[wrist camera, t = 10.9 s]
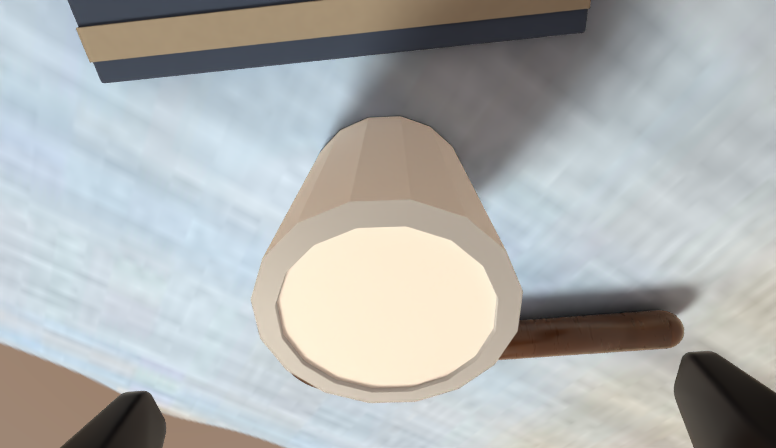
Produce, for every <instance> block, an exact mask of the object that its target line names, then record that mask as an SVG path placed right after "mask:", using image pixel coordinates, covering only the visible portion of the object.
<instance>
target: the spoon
mask: <svg viewBox="0 0 776 448" xmlns="http://www.w3.org/2000/svg"><path fill="white" fill-rule="evenodd" d="M683 336H684V327H683V324H682V322H681V320H680V319H679V318H678V317H677V316H676V315H674V314H673V313H671V312H668V311H664V310H654V311H641V312H627V313H613V314H599V315H586V316H572V317H558V318H544V319H531V320H519V325H518V331H517V333H516V334H515V336H514V337H513V339H512V340H511V342H510V343H509V344H508V346H507V347H506V349H505V350H504V352H503V353H502V355H501V356H500V357H499V359H498V360H506V359H521V358H535V357H550V356H565V355H579V354H594V353H608V352H623V351H638V350H652V349H667V348H672V347H674V346H676V345H677V344H679V343H680V341H681V340H682V338H683ZM293 375H294V374H293ZM294 376H295V377H296V378H297V379H299V380H300V381H302V382H304V383H305V384H307V385H310V386H312V387H315V386H313V385H311V384H310V383H308V382H306V381H304V380H303V379H301V378H299V377H297V376H296V375H294ZM315 388H317V387H315Z"/></svg>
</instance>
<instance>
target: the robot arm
mask: <svg viewBox="0 0 776 448" xmlns="http://www.w3.org/2000/svg"><path fill="white" fill-rule="evenodd" d="M674 395H675V399H676V402H677V405H678V408H679V410H680V413H681V415H682V418H683V421H684V423H685V426H686V429H687V431H688V434H689V436H690V439H691V442H692V444H693V447H694V448H776V393H775V392H774V391H772V390H771V389H769V388H768V387H766V386H765V385H763V384H762V383H760V382H759V381H757V380H756V379H754V378H753V377H751V376H750V375H748V374H747V373H745V372H744V371H742V370H741V369H739V368H738V367H736V366H735V365H733V364H732V363H730V362H729V361H727V360H726V359H724V358H723V357H721V356H720V355H718V354H717V353H714V352H712V351H699V352H688V353H686V354H685V355H684V356H683V357H682V359H681V363H680V366H679V370H678V373H677V377H676V380H675V384H674ZM165 434H166V422H165V419H164V417H163V415H162V413H161V411H160V410H159V408H158V406H157V404H156V402H155V401H154V399H153V397H152V395H151V394H150V393H149V392H147V391H134V392H125V393H123V394H121V395H120V396H119V397H117V398H116V399H115V400H114V401H113V402H111V403H110V404H109V405H108V406H107V407H106V408H105V409H104V410H102V411H101V412H100V413H99V414H98V415H97V416H96V417H94V418H93V419H92V420H91V421H90V422H89V423H88V424H86V425H85V426H84V427H83V428H82V429H81V430H80V431H79V432H77V433H76V434H75V435H74V436H73V437H72V438H71V439H69V440H68V441H67V442H66V443H65V444H64V445H63V446H62V447H60V448H162V447H163V443H164V438H165Z"/></svg>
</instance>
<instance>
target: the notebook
mask: <svg viewBox="0 0 776 448" xmlns="http://www.w3.org/2000/svg"><path fill="white" fill-rule="evenodd" d="M68 2H69V5H70V7H71V10H72V12H73V15H74V17H75V19H76V22H77V24H78V28H76V30H77V32H78V35H79V37H80V39H81V42H82V44H83V47H84V49H85V52H86V54H87V56H88V59H89V61H90V62H93V63H94V66H95V68H96V70H97V73H98V75H99V78H100V80H101V82H102V83H111V82H121V81H130V80H140V79H149V78H159V77H168V76H178V75H187V74H197V73H206V72H216V71H225V70H235V69H244V68H253V67H263V66H272V65H282V64H291V63H301V62H310V61H320V60H329V59H339V58H348V57H358V56H367V55H377V54H386V53H396V52H405V51H414V50H424V49H433V48H443V47H452V46H462V45H471V44H481V43H490V42H500V41H509V40H519V39H528V38H538V37H547V36H557V35H566V34H575V33H583V32H585V30H586V20H587V11H588V8H590V2H591V0H68Z"/></svg>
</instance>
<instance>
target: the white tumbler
mask: <svg viewBox="0 0 776 448" xmlns="http://www.w3.org/2000/svg"><path fill="white" fill-rule="evenodd" d="M522 294H523V290H522V288H521V286H520V283H519V281H518V278H517V276H516V273H515V271H514V269H513V266H512V264H511V261H510V259H509V257H508V254H507V252H506V250H505V248H504V246H503V244H502V242H501V240H500V238H499V236H498V234H497V232H496V230H495V228H494V226H493V225H492V223H491V221H490V219H489V217H488V215H487V213H486V211H485V209H484V207H483V205H482V203H481V201H480V199H479V197H478V196H477V194H476V192H475V190H474V188H473V186H472V184H471V182H470V180H469V178H468V176H467V174H466V172H465V170H464V168H463V166H462V165H461V163H460V161H459V159H458V157H457V155H456V153H455V151H454V149H453V147H452V146H451V145H450V144H449V143H448V142H447V141H445V140H444V139H443V138H442V137H441V136H440V135H439V134H438V133H437V132H436V131H434V130H433V129H432V128H431V127H430V126H427V125H424V124H421V123H418V122H415V121H413V120H410V119H407V118H404V117H401V116H394V117H370V118H366V119H364V120H362V121H360V122H357V123H355V124H353V125H351V126H349V127H346V128H344V129H342V130H340V131H339V132H338V133H337V134H336V135H335V136H334V138H333V139H332V140H331V141H330V142H329V143H328V144H327V145H326V146H325V147H324V148H323V150H322V151H321V152H320V154H319V155H318V157H317V159H316V161H315V163H314V165H313V166H312V168H311V170H310V172H309V174H308V176H307V177H306V179H305V181H304V183H303V185H302V187H301V189H300V190H299V192H298V194H297V196H296V198H295V200H294V201H293V203H292V205H291V207H290V209H289V211H288V212H287V214H286V216H285V218H284V220H283V222H282V224H281V225H280V227H279V229H278V231H277V233H276V235H275V236H274V238H273V240H272V242H271V244H270V246H269V247H268V249H267V251H266V253H265V255H264V257H263V259H262V262H261V265H260V269H259V272H258V276H257V279H256V283H255V286H254V290H253V294H252V297H251V303H252V307H253V311H254V315H255V319H256V323H257V327H258V331H259V335H260V339H261V340H262V341H263V342H264V343H265V345H266V346H267V347H268V348H269V349H270V351H271V352H272V353H273V354H274V355H275V357H276V358H277V359H278V360H279V361H280V363H281V364H282V365H283V366H284V367H285V369H286V370H287V371H289V372H291V373H292V374H294V375H296V376H297V377H299V378H301V379H303V380H304V381H306V382H308V383H310V384H311V385H313V386H315V387H317V388H318V389H320V390H322V391H323V392H326V393H330V394H334V395H338V396H342V397H347V398H351V399H355V400H359V401H363V402H367V403H386V402H416V401H419V400H423V399H426V398H430V397H433V396H436V395H440V394H443V393H446V392H450V391H453V390H456V389H459V388H461V387H462V386H464V385H465V384H467V383H468V382H470V381H471V380H473V379H474V378H475V377H477V376H478V375H480V374H481V373H483V372H484V371H486V370H487V369H489V368H490V367H492V366H493V365H495V363H496V362H497V360H498V359H499V357H500V356H501V355H502V353H503V352H504V350H505V349H506V347H507V346H508V344H509V343H510V342H511V340H512V339H513V337H514V336H515V334H516V333H517V331H518V325H519V317H520V309H521V302H522Z"/></svg>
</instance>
